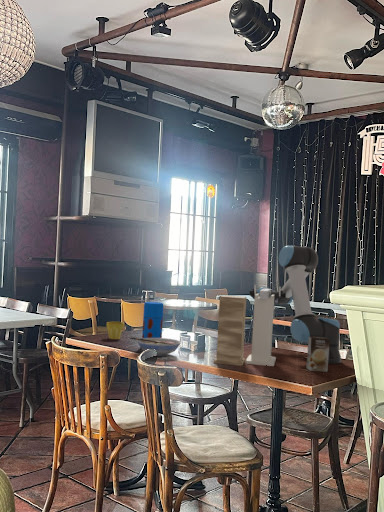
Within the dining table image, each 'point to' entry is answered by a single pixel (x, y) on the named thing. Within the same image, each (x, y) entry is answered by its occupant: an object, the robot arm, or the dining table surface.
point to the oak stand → (231, 330)
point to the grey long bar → (265, 293)
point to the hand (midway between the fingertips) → (267, 287)
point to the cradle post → (262, 332)
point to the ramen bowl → (158, 345)
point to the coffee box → (318, 353)
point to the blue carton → (152, 320)
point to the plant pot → (115, 329)
